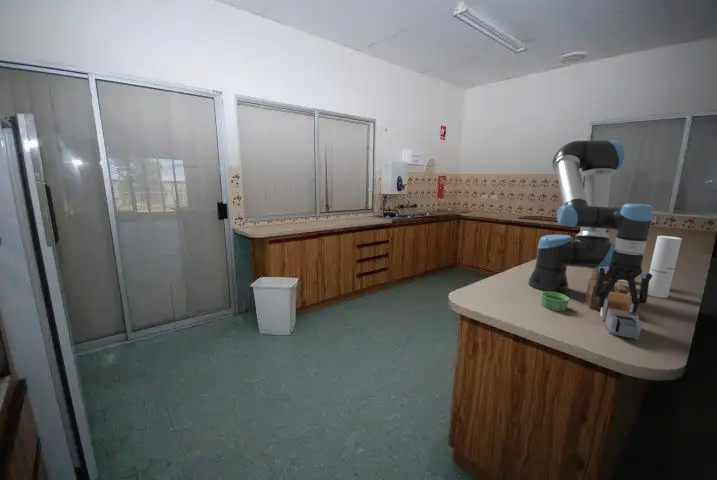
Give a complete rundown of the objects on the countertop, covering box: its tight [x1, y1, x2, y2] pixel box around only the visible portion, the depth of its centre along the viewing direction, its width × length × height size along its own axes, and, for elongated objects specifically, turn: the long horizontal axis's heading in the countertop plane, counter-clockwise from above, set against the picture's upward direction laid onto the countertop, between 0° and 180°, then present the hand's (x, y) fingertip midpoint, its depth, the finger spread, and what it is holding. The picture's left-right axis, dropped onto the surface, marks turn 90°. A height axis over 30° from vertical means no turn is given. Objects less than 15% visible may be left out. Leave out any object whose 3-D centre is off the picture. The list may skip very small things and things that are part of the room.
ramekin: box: [540, 291, 571, 312], centre depth 116 cm, size 9×9×4 cm
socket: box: [584, 278, 629, 311], centre depth 116 cm, size 10×8×9 cm
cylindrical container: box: [647, 235, 683, 299], centre depth 129 cm, size 7×7×25 cm
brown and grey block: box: [601, 292, 638, 339], centre depth 100 cm, size 6×20×10 cm, turn 153°
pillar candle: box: [590, 269, 618, 283], centre depth 143 cm, size 10×10×15 cm
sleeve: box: [604, 308, 643, 340], centre depth 96 cm, size 7×6×6 cm
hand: (614, 318), depth 104 cm, fingers closed on brown and grey block, 6 cm apart
